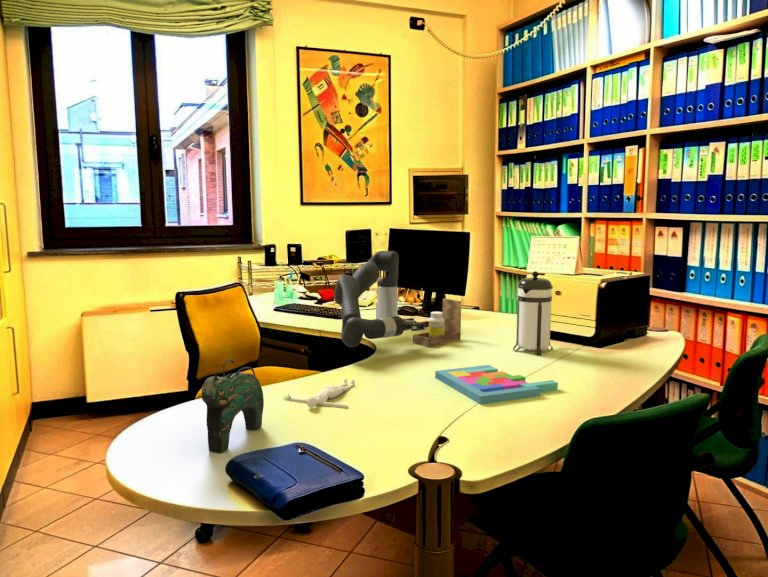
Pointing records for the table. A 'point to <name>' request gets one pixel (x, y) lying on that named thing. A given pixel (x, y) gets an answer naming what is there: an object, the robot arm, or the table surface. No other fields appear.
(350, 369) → the table surface
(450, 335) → the brown angle bracket
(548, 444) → the table surface
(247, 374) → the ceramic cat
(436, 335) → the pill bottle
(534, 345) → the coffee press
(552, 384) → the tetris game
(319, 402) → the figure model
